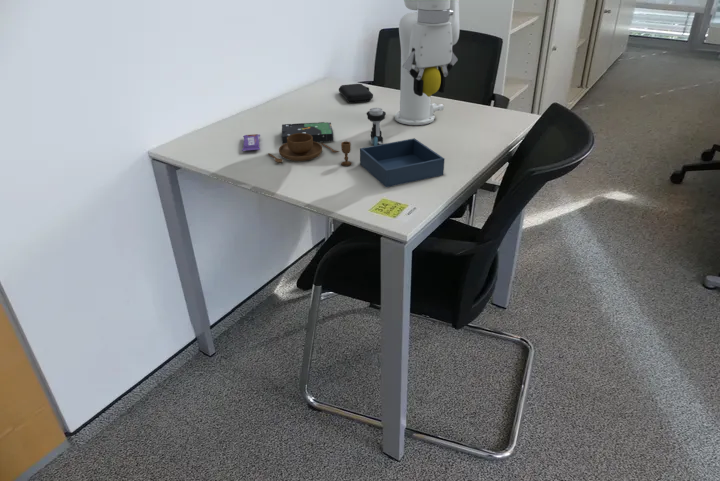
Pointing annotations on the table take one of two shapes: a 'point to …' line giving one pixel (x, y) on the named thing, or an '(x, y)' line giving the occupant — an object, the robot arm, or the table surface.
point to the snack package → (251, 142)
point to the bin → (401, 162)
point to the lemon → (431, 80)
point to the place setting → (307, 149)
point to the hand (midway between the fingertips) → (428, 92)
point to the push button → (376, 125)
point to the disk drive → (309, 131)
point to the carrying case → (355, 93)
